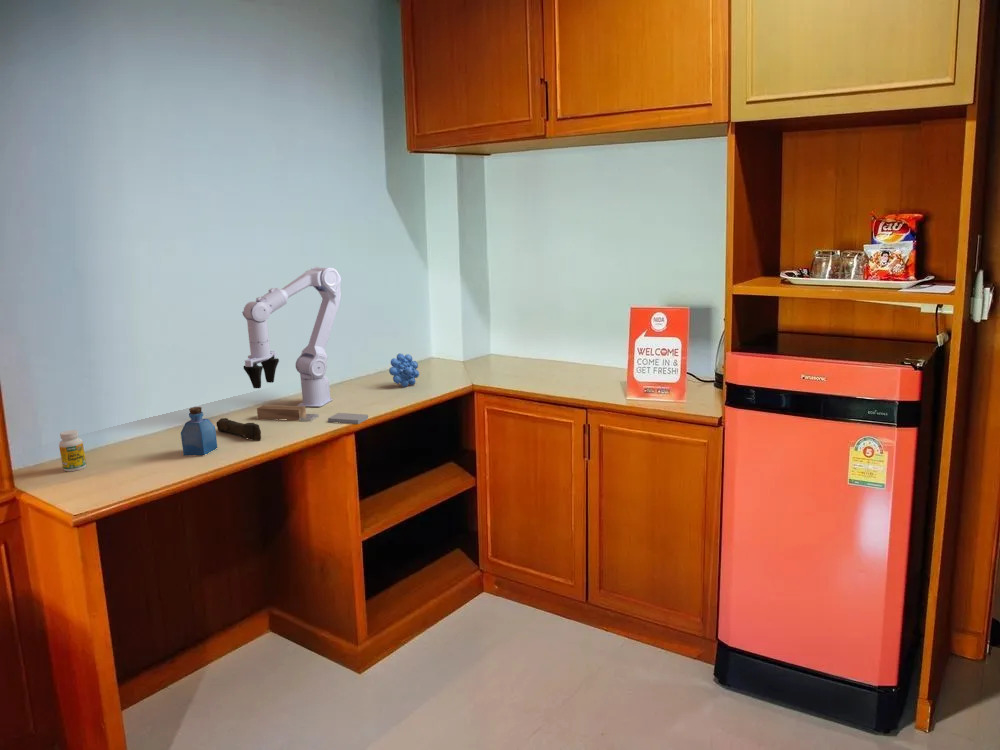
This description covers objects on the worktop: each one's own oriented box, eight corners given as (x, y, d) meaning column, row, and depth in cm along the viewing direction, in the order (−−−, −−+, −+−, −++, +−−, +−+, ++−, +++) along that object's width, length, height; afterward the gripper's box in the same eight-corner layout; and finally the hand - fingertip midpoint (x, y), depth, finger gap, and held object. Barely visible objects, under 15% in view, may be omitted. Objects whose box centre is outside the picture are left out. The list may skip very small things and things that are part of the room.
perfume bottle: (217, 448, 221) (212, 405, 218) (204, 456, 215) (199, 411, 212) (197, 448, 222) (191, 405, 220) (183, 455, 216) (177, 411, 214)
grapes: (397, 392, 277) (395, 357, 274) (387, 388, 282) (384, 354, 279) (426, 386, 284) (424, 351, 281) (415, 383, 289) (413, 349, 286)
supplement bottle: (81, 463, 213) (75, 428, 211) (90, 467, 209) (84, 431, 207) (59, 469, 209) (53, 433, 207) (68, 473, 206) (62, 436, 203)
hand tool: (216, 432, 237) (214, 417, 236) (229, 429, 240) (227, 414, 239) (251, 444, 225) (250, 427, 224) (264, 440, 228) (263, 424, 227)
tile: (338, 412, 248) (367, 414, 245) (338, 418, 248) (368, 419, 245) (327, 418, 243) (358, 420, 239) (328, 423, 243) (358, 425, 240)
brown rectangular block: (265, 415, 254) (264, 404, 253) (319, 417, 249) (318, 406, 248) (257, 420, 249) (255, 408, 248) (311, 421, 244) (310, 410, 244)
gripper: (260, 337, 257) (264, 379, 260) (234, 345, 243) (239, 390, 246) (280, 337, 255) (284, 379, 258) (255, 345, 241) (260, 390, 244)
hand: (263, 385), depth 252 cm, fingers open, 7 cm apart
